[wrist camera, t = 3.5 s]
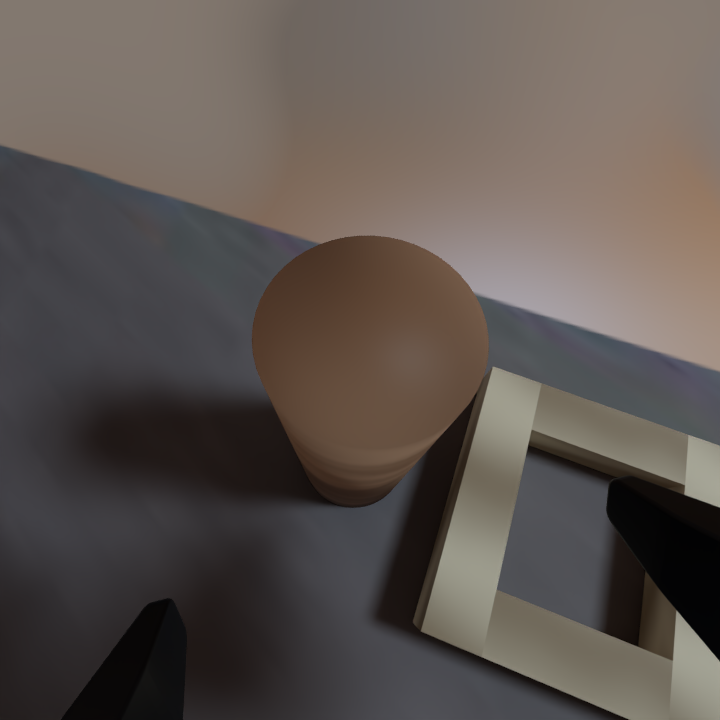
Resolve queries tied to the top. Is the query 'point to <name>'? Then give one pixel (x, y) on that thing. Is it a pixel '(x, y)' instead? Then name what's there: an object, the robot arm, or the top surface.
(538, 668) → the birch hole board
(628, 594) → the top surface
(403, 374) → the cherry wood peg
